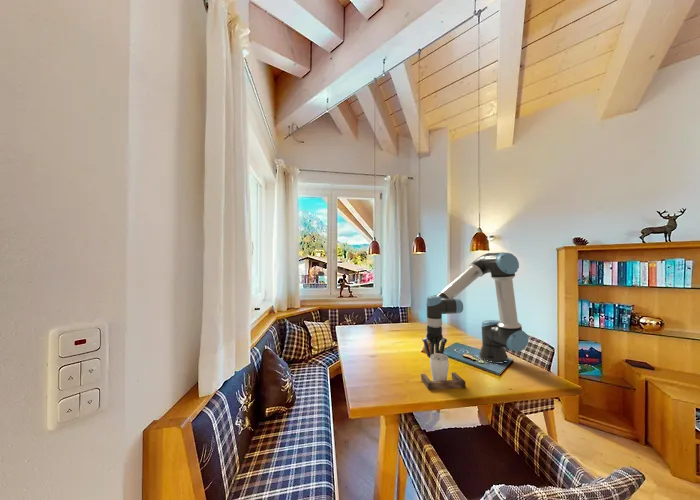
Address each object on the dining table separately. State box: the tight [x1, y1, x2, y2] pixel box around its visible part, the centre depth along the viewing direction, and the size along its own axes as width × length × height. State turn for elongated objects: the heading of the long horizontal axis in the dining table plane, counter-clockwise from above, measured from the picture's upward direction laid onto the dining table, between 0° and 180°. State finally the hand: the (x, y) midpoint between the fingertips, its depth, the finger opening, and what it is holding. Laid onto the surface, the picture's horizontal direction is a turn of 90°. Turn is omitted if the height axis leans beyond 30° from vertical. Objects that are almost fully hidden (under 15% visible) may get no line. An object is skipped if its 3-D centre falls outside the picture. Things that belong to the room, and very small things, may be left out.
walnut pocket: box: [420, 371, 466, 391], centre depth 126 cm, size 18×10×3 cm, turn 94°
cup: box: [429, 352, 450, 381], centre depth 129 cm, size 9×9×12 cm
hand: (434, 370), depth 134 cm, fingers closed
